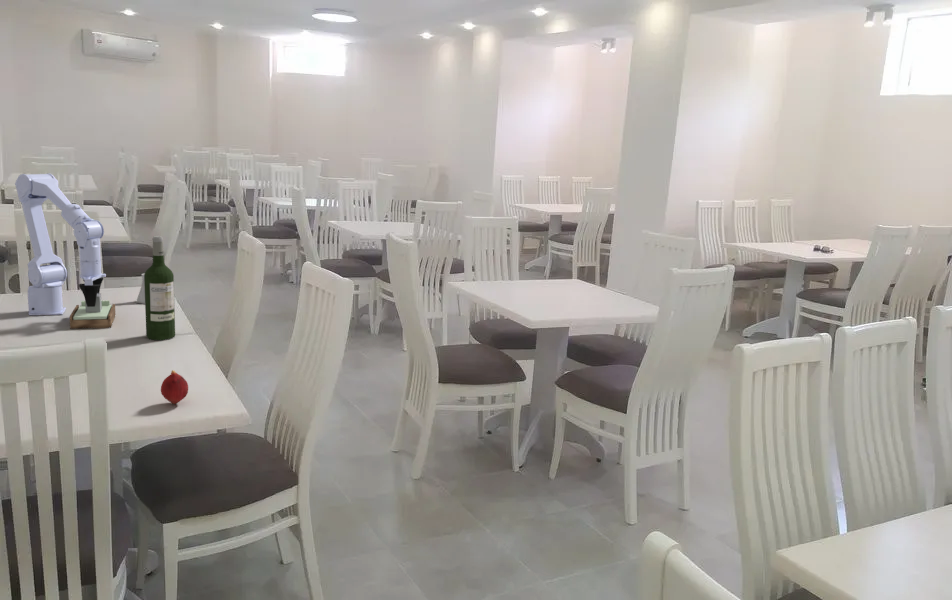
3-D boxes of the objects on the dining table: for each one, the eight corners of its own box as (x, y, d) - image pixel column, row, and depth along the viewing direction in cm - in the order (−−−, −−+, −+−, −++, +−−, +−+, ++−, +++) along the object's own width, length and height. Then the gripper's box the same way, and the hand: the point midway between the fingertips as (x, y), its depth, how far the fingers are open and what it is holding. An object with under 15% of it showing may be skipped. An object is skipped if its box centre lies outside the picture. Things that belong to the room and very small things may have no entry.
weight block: (85, 312, 226) (84, 296, 225) (87, 309, 230) (86, 293, 229) (100, 312, 228) (99, 296, 227) (101, 308, 232) (101, 293, 231)
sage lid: (73, 319, 221) (73, 312, 220) (80, 307, 234) (79, 300, 234) (106, 318, 224) (106, 311, 223) (111, 307, 237) (111, 300, 237)
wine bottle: (157, 342, 213) (153, 239, 207) (140, 336, 217) (136, 236, 211) (180, 336, 220) (178, 237, 213) (164, 331, 224) (161, 233, 217)
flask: (153, 305, 255) (152, 276, 253) (132, 303, 255) (131, 275, 253) (162, 300, 262) (161, 272, 260) (141, 299, 262) (140, 271, 260)
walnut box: (70, 328, 221) (69, 316, 220) (77, 316, 235) (76, 304, 234) (110, 327, 225) (110, 315, 224) (115, 315, 238) (115, 304, 238)
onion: (193, 400, 171) (192, 367, 170) (181, 409, 166) (180, 375, 164) (168, 398, 172) (167, 365, 170) (156, 407, 166) (155, 373, 164)
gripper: (102, 264, 220) (104, 308, 223) (107, 256, 233) (109, 297, 236) (75, 264, 218) (78, 309, 221) (82, 256, 231) (84, 298, 234)
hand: (92, 303), depth 228 cm, fingers open, 7 cm apart
